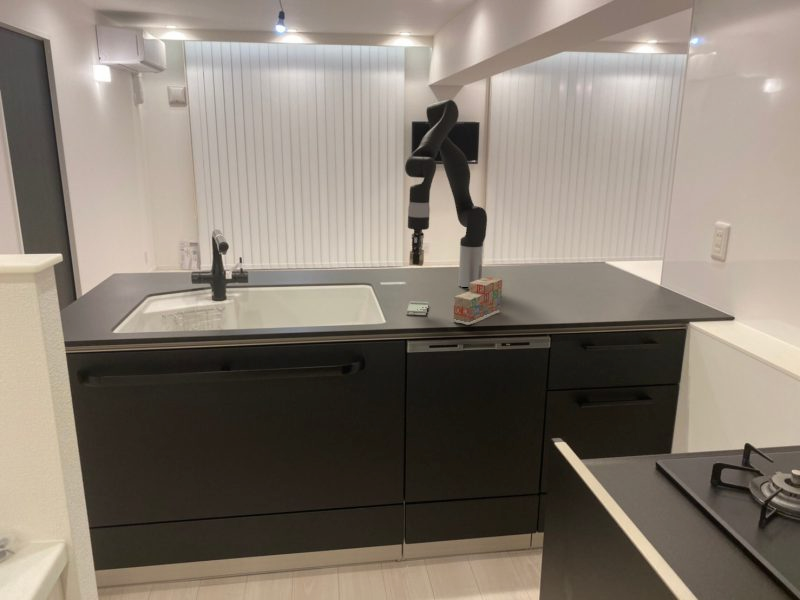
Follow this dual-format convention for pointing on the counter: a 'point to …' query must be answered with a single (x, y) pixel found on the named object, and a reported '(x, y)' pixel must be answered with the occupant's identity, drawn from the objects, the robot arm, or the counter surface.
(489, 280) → the stack of blocks
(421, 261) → the maple block
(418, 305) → the ceramic dish
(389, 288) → the counter surface
